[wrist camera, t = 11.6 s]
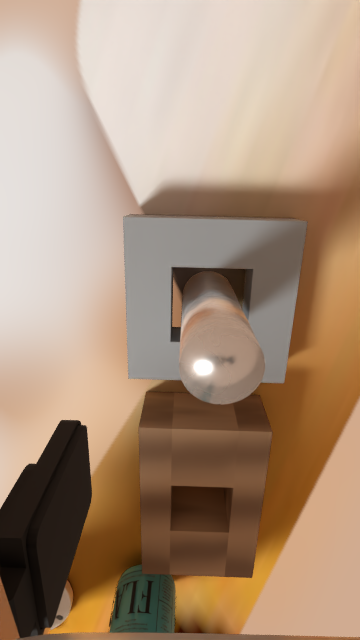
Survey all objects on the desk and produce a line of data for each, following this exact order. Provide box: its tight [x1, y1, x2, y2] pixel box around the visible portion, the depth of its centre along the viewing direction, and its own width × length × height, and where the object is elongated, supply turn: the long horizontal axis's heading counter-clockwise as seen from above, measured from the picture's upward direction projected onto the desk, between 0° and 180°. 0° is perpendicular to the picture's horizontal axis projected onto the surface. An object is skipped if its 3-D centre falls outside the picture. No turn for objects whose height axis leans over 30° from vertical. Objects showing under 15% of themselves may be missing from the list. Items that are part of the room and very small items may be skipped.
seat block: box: [123, 214, 308, 383], centre depth 26 cm, size 12×12×3 cm
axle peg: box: [179, 271, 265, 404], centre depth 22 cm, size 4×4×12 cm
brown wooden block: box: [139, 392, 273, 578], centre depth 31 cm, size 16×10×5 cm, turn 179°
